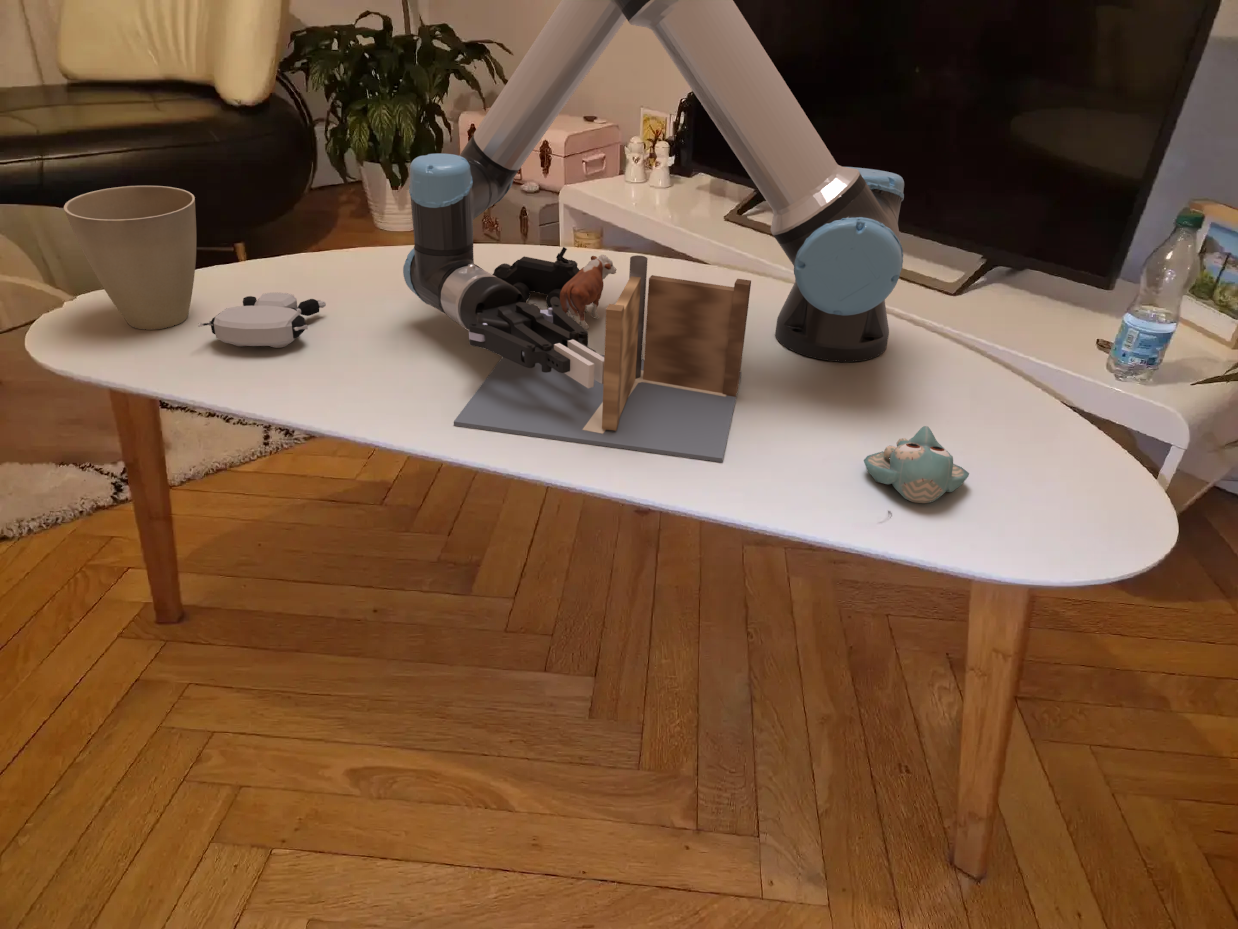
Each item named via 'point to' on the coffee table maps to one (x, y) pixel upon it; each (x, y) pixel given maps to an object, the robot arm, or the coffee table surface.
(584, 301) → the bull figurine
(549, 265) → the toy vehicle
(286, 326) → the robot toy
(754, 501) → the coffee table surface
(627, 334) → the fence panel
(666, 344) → the rod
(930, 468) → the stuffed animal
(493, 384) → the board
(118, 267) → the plant pot
